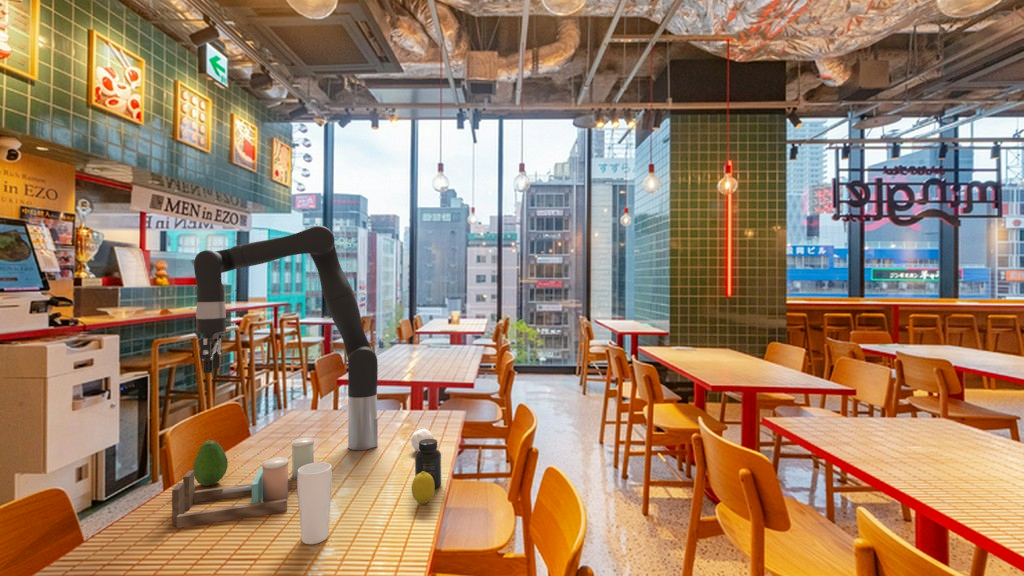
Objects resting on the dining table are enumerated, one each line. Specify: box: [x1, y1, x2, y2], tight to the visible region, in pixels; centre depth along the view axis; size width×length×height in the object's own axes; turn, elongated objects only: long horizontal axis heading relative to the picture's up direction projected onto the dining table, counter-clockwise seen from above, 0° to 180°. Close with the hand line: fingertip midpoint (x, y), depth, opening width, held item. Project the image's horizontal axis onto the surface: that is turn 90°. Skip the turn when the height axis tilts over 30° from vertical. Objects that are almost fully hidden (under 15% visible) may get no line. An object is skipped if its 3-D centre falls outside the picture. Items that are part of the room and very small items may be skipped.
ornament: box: [410, 427, 434, 452], centre depth 152 cm, size 7×7×8 cm
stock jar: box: [261, 456, 289, 503], centre depth 117 cm, size 6×6×10 cm
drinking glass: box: [296, 461, 333, 545], centre depth 99 cm, size 7×7×15 cm
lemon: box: [411, 471, 436, 505], centre depth 114 cm, size 6×6×8 cm
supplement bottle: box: [414, 438, 442, 491], centre depth 125 cm, size 7×7×12 cm
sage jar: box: [291, 437, 315, 480], centre depth 133 cm, size 6×6×10 cm
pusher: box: [222, 467, 263, 504], centre depth 114 cm, size 8×11×6 cm
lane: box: [171, 469, 294, 529], centre depth 114 cm, size 23×14×8 cm, turn 110°
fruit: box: [192, 439, 229, 487], centre depth 127 cm, size 8×8×12 cm
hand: (212, 370), depth 142 cm, fingers open, 8 cm apart
